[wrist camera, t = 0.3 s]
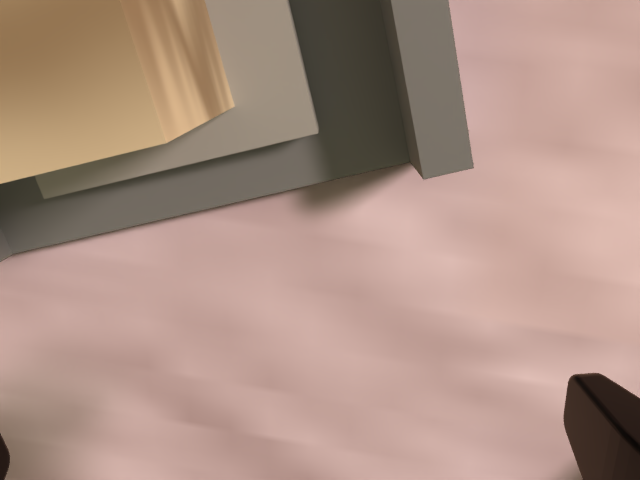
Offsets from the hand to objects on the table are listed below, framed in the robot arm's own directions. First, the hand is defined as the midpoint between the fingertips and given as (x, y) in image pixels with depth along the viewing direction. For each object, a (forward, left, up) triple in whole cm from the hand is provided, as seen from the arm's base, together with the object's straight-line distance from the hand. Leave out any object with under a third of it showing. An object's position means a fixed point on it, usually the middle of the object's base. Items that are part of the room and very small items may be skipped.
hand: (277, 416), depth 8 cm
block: (+6, +5, -11) cm, 14 cm away
